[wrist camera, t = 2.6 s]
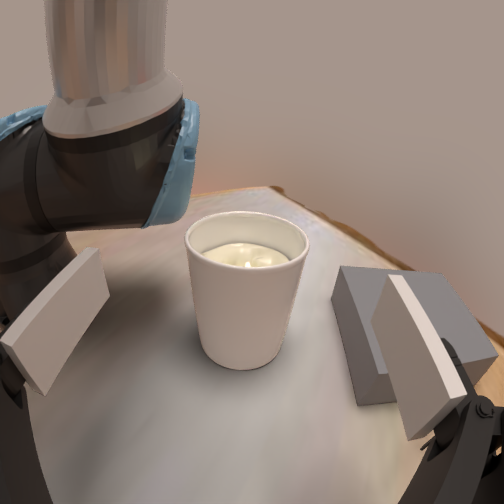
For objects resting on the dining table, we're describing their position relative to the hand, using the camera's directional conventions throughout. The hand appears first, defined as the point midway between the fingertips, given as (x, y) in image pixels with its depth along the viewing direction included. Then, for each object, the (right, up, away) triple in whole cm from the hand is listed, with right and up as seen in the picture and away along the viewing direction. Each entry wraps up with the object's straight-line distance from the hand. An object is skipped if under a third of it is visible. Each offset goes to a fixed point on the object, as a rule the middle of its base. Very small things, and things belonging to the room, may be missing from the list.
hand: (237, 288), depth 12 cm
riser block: (+18, -9, +16) cm, 26 cm away
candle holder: (-1, -8, +16) cm, 18 cm away
